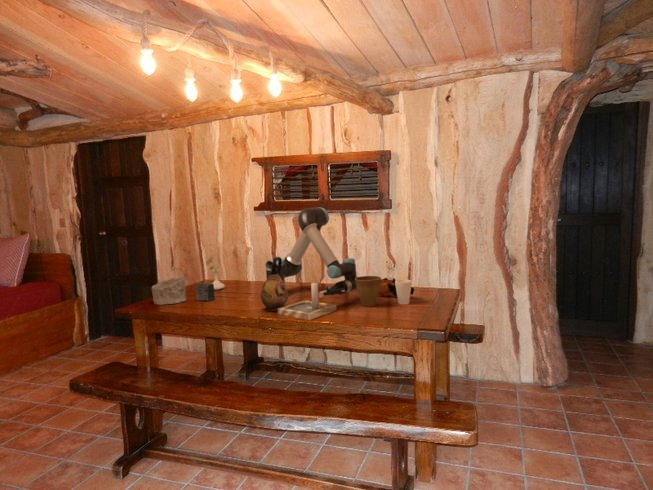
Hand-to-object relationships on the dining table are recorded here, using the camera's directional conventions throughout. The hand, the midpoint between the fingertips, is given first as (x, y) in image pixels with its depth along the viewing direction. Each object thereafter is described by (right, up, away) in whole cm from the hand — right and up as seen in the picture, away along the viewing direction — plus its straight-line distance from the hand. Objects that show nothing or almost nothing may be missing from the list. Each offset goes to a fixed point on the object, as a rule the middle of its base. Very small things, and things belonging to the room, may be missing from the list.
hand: (319, 295), depth 243 cm
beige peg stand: (-7, -10, +4) cm, 12 cm away
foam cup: (+49, -7, +16) cm, 52 cm away
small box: (-73, -8, +43) cm, 86 cm away
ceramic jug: (-25, -10, +14) cm, 30 cm away
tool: (+46, -5, +31) cm, 56 cm away
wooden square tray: (-7, -10, +4) cm, 12 cm away
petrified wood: (-95, -9, +41) cm, 104 cm away
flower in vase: (-75, -5, +76) cm, 106 cm away
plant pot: (+28, -8, +14) cm, 33 cm away
